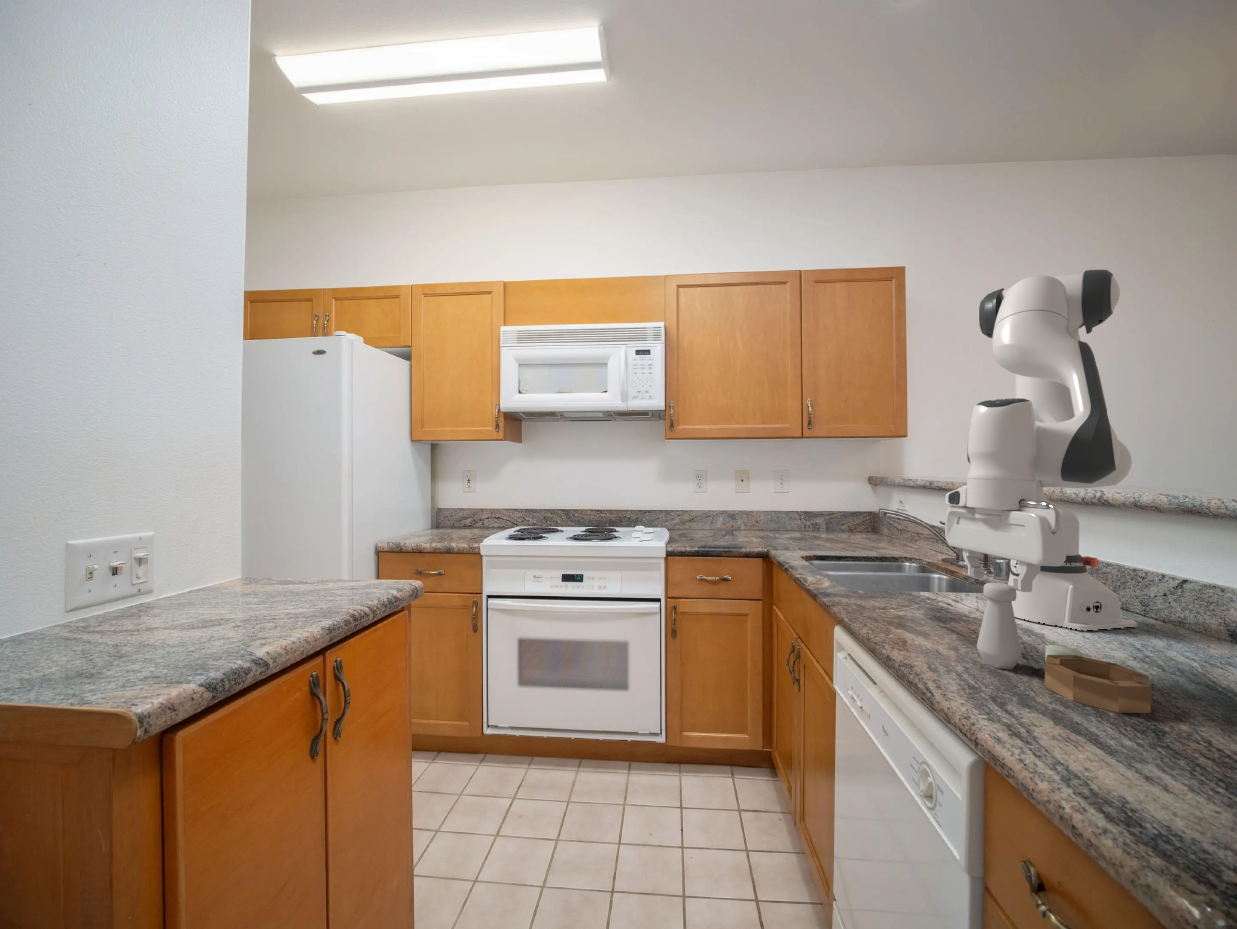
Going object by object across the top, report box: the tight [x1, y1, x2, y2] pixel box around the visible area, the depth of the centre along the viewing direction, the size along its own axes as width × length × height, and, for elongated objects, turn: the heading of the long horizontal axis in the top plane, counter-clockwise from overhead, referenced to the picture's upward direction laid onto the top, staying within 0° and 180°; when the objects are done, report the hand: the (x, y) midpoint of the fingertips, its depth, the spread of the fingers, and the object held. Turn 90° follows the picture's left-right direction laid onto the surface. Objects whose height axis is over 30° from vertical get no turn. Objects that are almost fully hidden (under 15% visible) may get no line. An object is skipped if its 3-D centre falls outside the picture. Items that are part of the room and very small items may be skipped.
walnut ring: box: [1044, 655, 1152, 714], centre depth 70 cm, size 10×10×4 cm
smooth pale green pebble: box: [1044, 644, 1084, 661], centre depth 79 cm, size 4×4×3 cm
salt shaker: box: [976, 582, 1023, 671], centre depth 80 cm, size 6×6×13 cm
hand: (997, 584), depth 79 cm, fingers open, 8 cm apart
